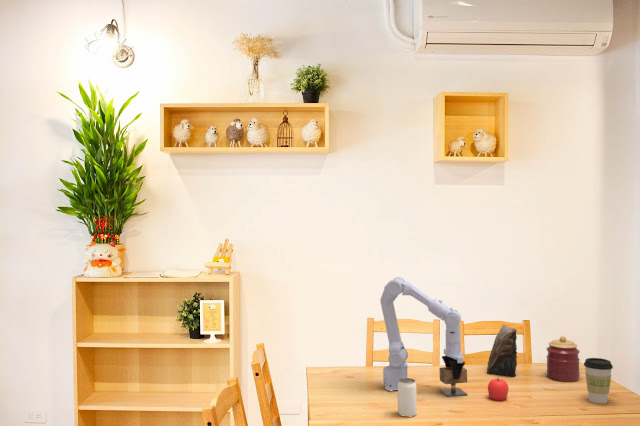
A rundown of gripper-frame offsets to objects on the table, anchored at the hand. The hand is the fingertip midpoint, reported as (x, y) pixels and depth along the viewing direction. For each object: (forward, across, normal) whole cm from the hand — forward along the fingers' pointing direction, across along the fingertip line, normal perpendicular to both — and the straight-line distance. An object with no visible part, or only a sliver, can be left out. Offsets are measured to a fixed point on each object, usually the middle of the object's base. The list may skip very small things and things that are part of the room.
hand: (453, 376), depth 231 cm
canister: (+7, +10, -53) cm, 54 cm away
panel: (+6, 0, 0) cm, 6 cm away
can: (+7, -18, +25) cm, 32 cm away
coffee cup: (+7, -20, -49) cm, 53 cm away
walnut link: (+2, 0, 0) cm, 2 cm away
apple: (+7, -10, -14) cm, 18 cm away
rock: (+7, +22, -31) cm, 38 cm away
